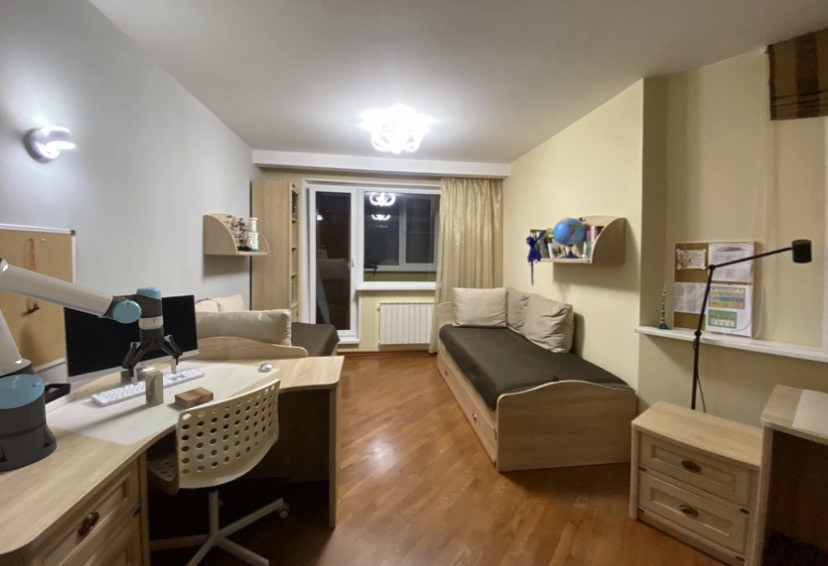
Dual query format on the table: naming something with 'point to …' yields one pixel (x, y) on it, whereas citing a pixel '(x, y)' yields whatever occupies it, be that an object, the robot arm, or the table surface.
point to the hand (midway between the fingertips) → (155, 378)
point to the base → (194, 397)
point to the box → (154, 387)
